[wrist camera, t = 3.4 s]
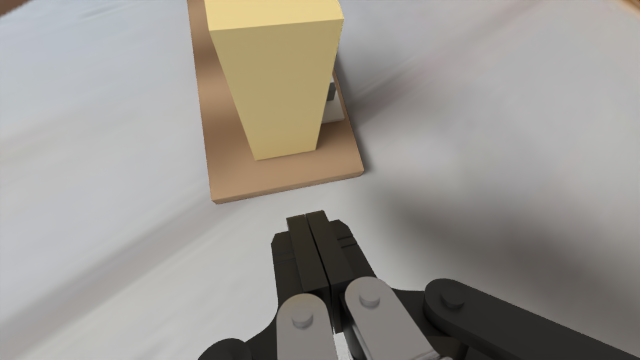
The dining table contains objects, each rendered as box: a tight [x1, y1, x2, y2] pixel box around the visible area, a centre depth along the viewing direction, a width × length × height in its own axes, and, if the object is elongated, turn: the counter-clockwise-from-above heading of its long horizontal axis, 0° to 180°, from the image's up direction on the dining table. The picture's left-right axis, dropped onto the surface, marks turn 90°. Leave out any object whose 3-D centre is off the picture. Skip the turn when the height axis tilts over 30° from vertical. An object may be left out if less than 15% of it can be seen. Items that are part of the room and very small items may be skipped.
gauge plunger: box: [204, 0, 344, 161], centre depth 14 cm, size 8×6×10 cm
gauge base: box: [187, 0, 364, 204], centre depth 17 cm, size 20×10×7 cm, turn 13°
